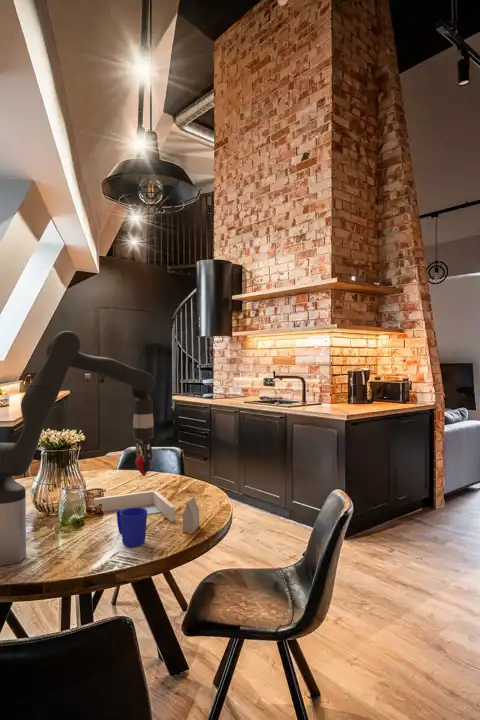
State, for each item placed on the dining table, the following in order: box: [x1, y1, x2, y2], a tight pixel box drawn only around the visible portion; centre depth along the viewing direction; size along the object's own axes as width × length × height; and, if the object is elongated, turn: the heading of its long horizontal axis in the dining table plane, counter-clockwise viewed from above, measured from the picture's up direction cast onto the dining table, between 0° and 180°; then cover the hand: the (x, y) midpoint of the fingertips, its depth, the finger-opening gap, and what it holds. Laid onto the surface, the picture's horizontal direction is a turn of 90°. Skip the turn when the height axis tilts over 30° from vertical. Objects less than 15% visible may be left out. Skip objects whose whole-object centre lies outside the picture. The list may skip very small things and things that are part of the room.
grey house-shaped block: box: [182, 496, 200, 534], centre depth 157 cm, size 4×7×10 cm, turn 169°
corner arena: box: [93, 489, 176, 523], centre depth 171 cm, size 24×24×5 cm
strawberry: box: [134, 453, 152, 477], centre depth 176 cm, size 6×8×10 cm
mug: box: [116, 507, 148, 548], centre depth 146 cm, size 8×12×10 cm
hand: (143, 469), depth 176 cm, fingers closed on strawberry, 7 cm apart
